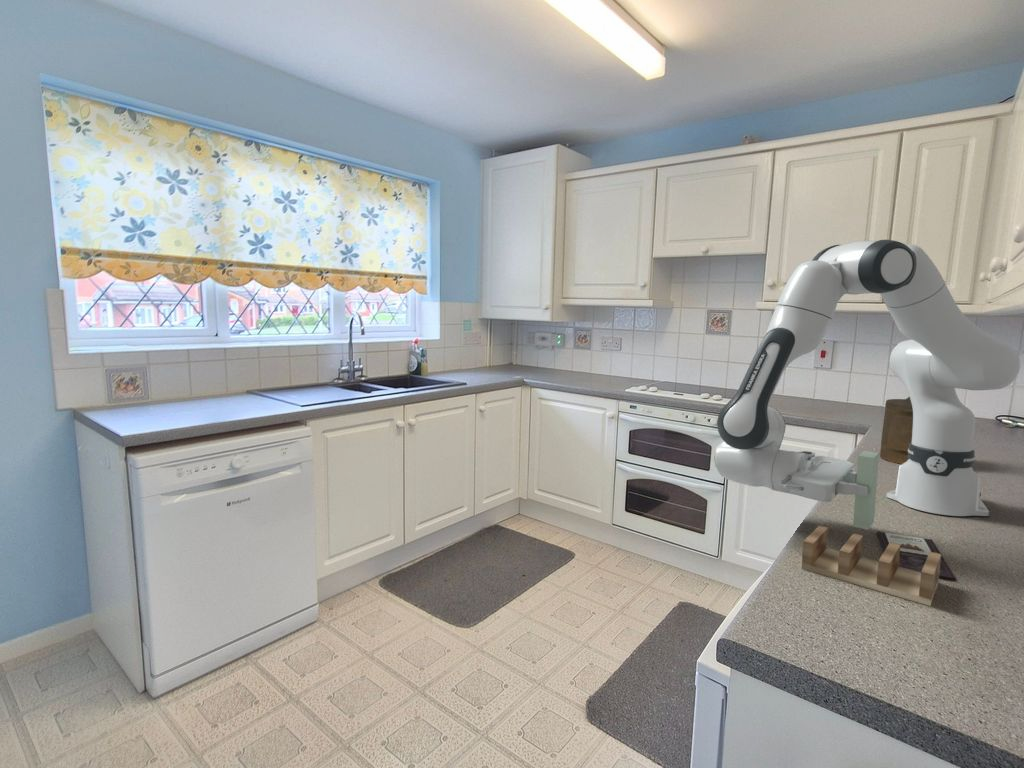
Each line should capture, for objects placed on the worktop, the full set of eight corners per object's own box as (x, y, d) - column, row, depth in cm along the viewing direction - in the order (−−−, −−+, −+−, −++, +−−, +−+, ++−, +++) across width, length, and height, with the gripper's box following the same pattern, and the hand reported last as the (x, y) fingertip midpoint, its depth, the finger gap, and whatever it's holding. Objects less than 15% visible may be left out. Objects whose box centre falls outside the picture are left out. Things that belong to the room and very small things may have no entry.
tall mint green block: (859, 519, 108) (864, 450, 106) (873, 522, 106) (879, 452, 104) (853, 526, 104) (858, 455, 102) (868, 529, 103) (873, 457, 101)
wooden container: (951, 468, 158) (958, 393, 155) (895, 465, 160) (902, 392, 158) (921, 455, 173) (927, 387, 170) (870, 453, 175) (876, 386, 172)
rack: (817, 550, 102) (819, 525, 101) (938, 582, 89) (941, 554, 89) (801, 568, 95) (803, 541, 94) (930, 606, 82) (933, 574, 82)
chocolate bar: (890, 567, 94) (876, 531, 110) (890, 572, 94) (876, 535, 110) (955, 578, 90) (931, 539, 106) (955, 583, 90) (931, 544, 106)
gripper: (777, 468, 105) (860, 483, 96) (808, 449, 120) (883, 460, 110) (776, 500, 106) (858, 517, 97) (807, 476, 121) (881, 490, 111)
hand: (871, 486), depth 104 cm, fingers closed on tall mint green block, 5 cm apart
